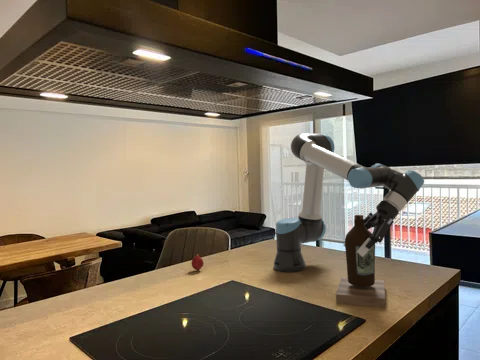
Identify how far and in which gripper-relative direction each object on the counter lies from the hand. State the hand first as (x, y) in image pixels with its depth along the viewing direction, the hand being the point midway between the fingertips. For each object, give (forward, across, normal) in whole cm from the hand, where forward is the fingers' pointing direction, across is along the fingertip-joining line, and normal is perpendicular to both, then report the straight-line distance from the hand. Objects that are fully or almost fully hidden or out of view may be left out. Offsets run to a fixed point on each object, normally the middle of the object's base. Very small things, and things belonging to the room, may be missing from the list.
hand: (352, 250), depth 128 cm
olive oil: (+7, 0, -11) cm, 13 cm away
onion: (+52, +49, +28) cm, 77 cm away
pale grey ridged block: (+10, 0, -14) cm, 17 cm away
